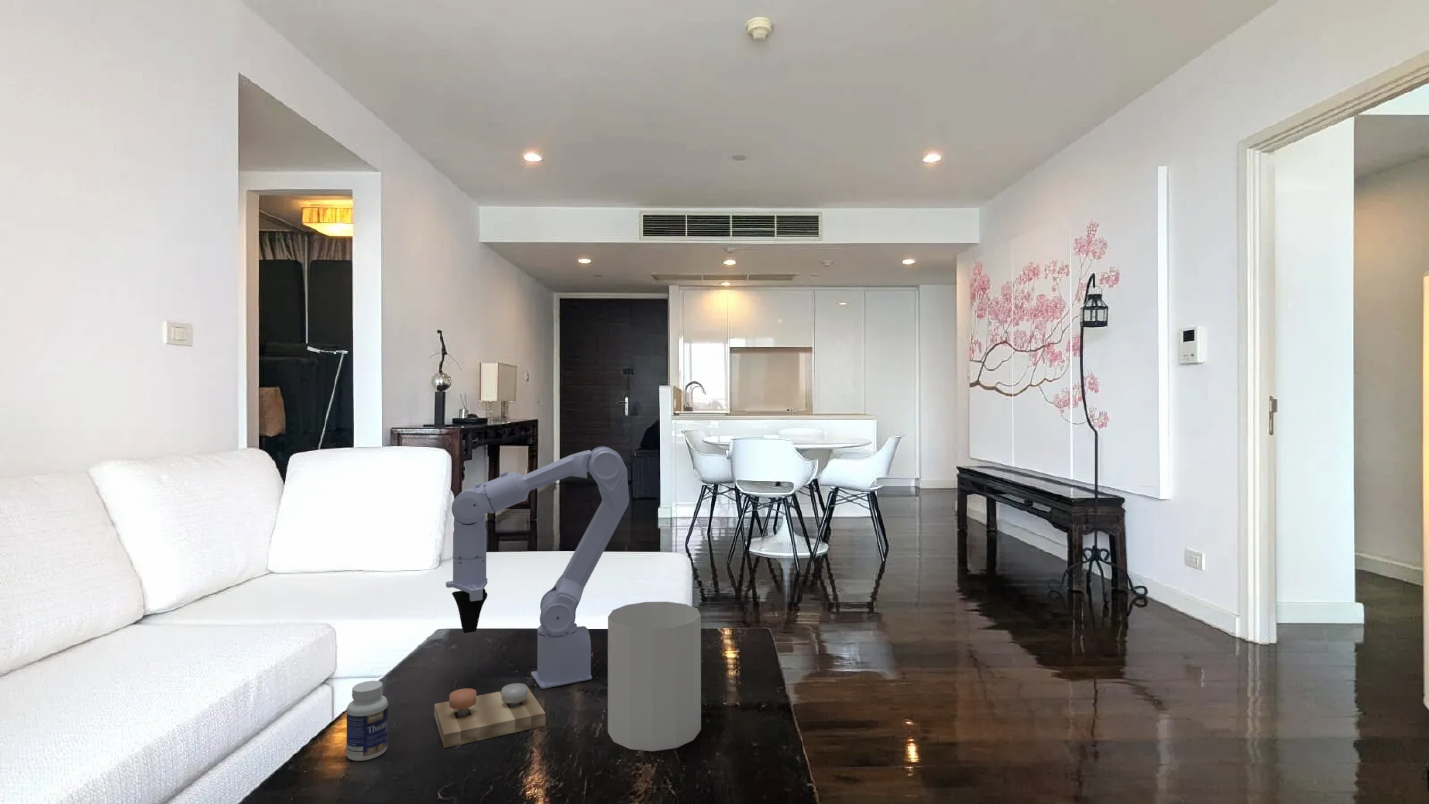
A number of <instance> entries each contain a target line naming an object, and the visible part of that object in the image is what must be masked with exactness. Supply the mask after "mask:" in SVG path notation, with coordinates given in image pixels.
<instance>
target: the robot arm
mask: <svg viewBox="0 0 1429 804" xmlns="http://www.w3.org/2000/svg"><path fill="white" fill-rule="evenodd" d="M588 473H589V474H590V476H592V478H593V480H594V481H595V483H596V484H597V487H598V491H599V495H600V497H601V502H600V504H599V506H598V508H597V510H596V511H595V513H594V515H593V517H592V518H591V520H590V521H589V524H588V526H587V528H586V530H585V532H584V534H583V536H581V539H580V541H579V543H578V545H577V547H576V548H575V550H574V552H573V554H572V556H571V558H570V559H569V561H568V563H567V565H566V567H565V569H564V571H563V573H562V574H561V575H560V576H559V577H558V579H557V580H556V582H555V583H554V586H553V587H552V588H551V589H550V590H548V591H546V593H544V595H542V597H541V601H540V606H539V608H540V615H539V623H540V625H539V626H538V627H537V651H536V652H537V655H536V656H537V658H536V659H537V666H536V667H537V670H534V671H531V673H530V675H531V677H532V678H533V679H534V681H535V682H536V683H537V685H538V686H539V688H540V689H548V688H553V687H554V688H555V687H558V686H559V687H560V686H564V685H568V684H569V685H570V684H574V683H579V682H585V681H589V680H592V679H593V676H592V674H591V673H592V663H591V662H592V661H591V659H592V655H591V653H592V651H591V650H592V644H591V643H592V641H591V635H590V631H589V629H588V628H587V626H583V625H581V626H580V625H579V626H578V625H577V623H576V614H577V613H576V612H577V608H578V606H579V604H580V602H581V599H582V595H583V593H584V589H585V588H586V585H587V583H588V581H589V580H590V578H591V576H592V574H593V572H594V571H595V568H596V566H597V565H598V563H599V561H600V559H601V557H602V555H603V554H604V552H605V550H606V547H607V546H608V544H609V542H610V540H611V538H612V536H613V534H614V533H615V531H616V529H617V527H618V526H619V523H620V522H621V519H622V517H623V516H624V513H625V511H626V510H627V508H628V506H629V503H630V495H629V494H630V493H629V483H628V469H627V467H626V465H625V463H624V460H623V458H622V456H621V455H620V454H619V453H618V451H616V450H614V449H612V448H610V447H609V446H598V447H595V448H594V449H592V450H590V449H588V450H583V451H580V452H576V453H571V454H570V455H567V456H565V457H563V458H561V459H558V460H556V461H553V462H551V463H548V464H547V465H544V466H541V467H540V468H538V469H534V470H533V471H530V472H528V473H525V474H522V473H519V472H516V471H512V472H510V473H509V472H508V471H507V470H506V471H503V472H501V473H500V476H499V477H496V478H494V479H492V480H489V481H486V482H484V483H481V482H480V481H478V482H476V483H475V484H474V488H467V489H464V490H463V491H461V492H459V494H458V495H457V496H456V497H455V498H454V499H453V500H452V501H453V502H452V503H451V513H452V516H453V517H454V519H453V528H454V529H453V532H452V580H448V581H446V582H445V587H446V588H450V589H451V588H453V589H456V590H457V591H453V592H452V593H451V595H452V597H453V598H454V601H455V603H456V606H457V609H458V614H459V620H460V624H461V629H462V631H463V634H469V633H475V632H477V629H478V625H479V622H480V621H479V620H480V615H481V612H482V609H483V606H484V604H485V601H486V600H487V598H488V595H489V594H488V593H487V591H486V589H485V588H486V586H487V585H488V578H487V529H486V514H495V513H496V512H499V511H502V510H505V509H508V508H509V507H512V506H514V505H517V504H520V503H522V502H525V501H526V500H527V498H528V495H529V493H530V491H533V490H536V489H539V488H542V487H543V486H546V485H549V484H551V483H556V482H558V481H560V480H562V479H565V478H568V477H575V478H576V477H577V478H583V479H588Z"/></svg>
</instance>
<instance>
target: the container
mask: <svg viewBox="0 0 1429 804" xmlns="http://www.w3.org/2000/svg"><path fill="white" fill-rule="evenodd" d="M701 620H702V615H701V612H700V611H699V609H698V608H696V607H695V606H694V607H693V606H692V605H689V604H686V603H680V602H674V601H673V602H671V601H642V602H636V603H632V604H631V603H630V604H625V605H622V606H621V607H620V606H619V607H618V608H615V609H612V611H611V612H610V613H609V614H608V616H607V733H608V734H609V736H610V738H611V740H612V741H613V743H614V744H615V743H616V744H618V745H620V746H623V747H624V748H627V749H629V750H636V751H648V752H656V751H664V750H670V749H671V750H672V749H677V748H680V747H682V746H684V745H685V744H688V743H690V742H692V741H694V740H695V738H696V737H697V736H698V735H699V733H700V732H701V730H702V642H701V641H702V637H701V636H702V631H701V630H702V629H701V628H702V621H701Z"/></svg>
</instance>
